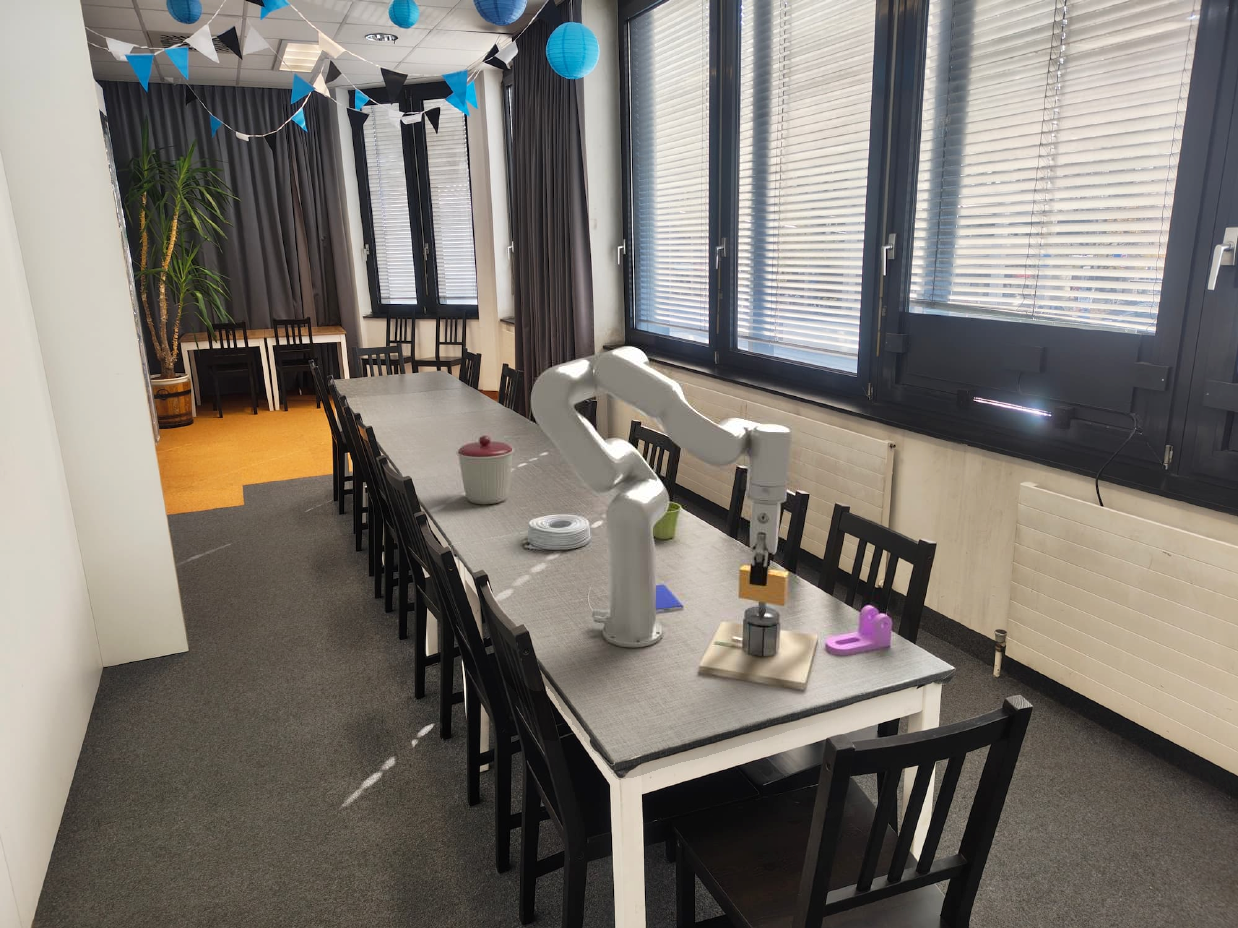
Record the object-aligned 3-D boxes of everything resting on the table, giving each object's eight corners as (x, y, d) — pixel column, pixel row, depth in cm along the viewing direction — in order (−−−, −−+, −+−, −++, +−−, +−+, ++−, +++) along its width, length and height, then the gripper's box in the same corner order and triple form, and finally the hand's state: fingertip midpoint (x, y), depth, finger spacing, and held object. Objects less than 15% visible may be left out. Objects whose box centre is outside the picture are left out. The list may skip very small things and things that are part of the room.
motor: (778, 659, 159) (782, 580, 155) (727, 648, 163) (729, 571, 159) (787, 644, 165) (791, 568, 161) (737, 634, 169) (740, 560, 165)
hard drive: (632, 587, 195) (649, 609, 183) (664, 583, 197) (683, 605, 186) (632, 594, 195) (649, 616, 184) (664, 589, 198) (683, 611, 186)
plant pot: (681, 530, 236) (681, 501, 234) (680, 542, 227) (680, 512, 225) (648, 529, 237) (648, 500, 235) (646, 541, 228) (646, 511, 226)
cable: (518, 550, 223) (517, 528, 222) (539, 528, 239) (539, 508, 238) (580, 555, 219) (580, 533, 217) (598, 533, 235) (597, 513, 234)
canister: (455, 494, 271) (452, 431, 266) (510, 489, 276) (508, 428, 271) (462, 511, 254) (458, 444, 249) (520, 505, 260) (518, 440, 254)
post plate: (698, 672, 158) (699, 634, 156) (721, 627, 177) (722, 593, 175) (804, 690, 152) (807, 650, 150) (817, 642, 170) (819, 606, 168)
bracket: (872, 634, 174) (875, 603, 172) (890, 646, 169) (892, 614, 167) (819, 645, 169) (821, 613, 168) (835, 657, 164) (838, 625, 162)
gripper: (784, 506, 147) (777, 595, 151) (788, 479, 163) (781, 560, 167) (742, 502, 148) (735, 590, 153) (750, 476, 164) (744, 556, 169)
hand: (759, 574), depth 160 cm, fingers open, 9 cm apart
